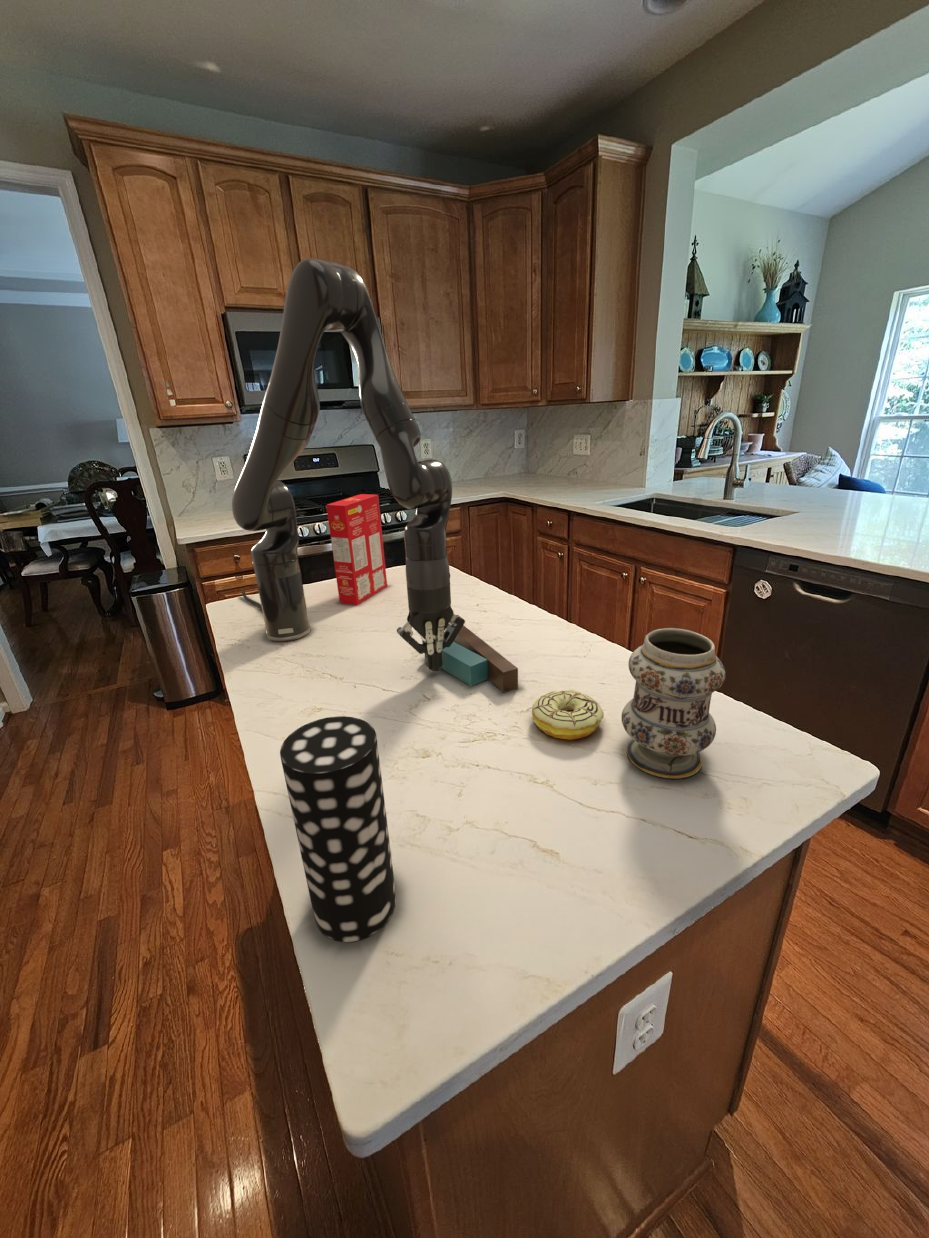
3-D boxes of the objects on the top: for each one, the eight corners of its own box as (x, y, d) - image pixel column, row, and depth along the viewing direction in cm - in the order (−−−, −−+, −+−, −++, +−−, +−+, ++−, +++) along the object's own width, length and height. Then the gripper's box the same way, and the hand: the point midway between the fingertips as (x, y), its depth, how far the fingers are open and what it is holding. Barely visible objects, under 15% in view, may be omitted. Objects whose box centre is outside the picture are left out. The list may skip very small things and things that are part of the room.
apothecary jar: (728, 761, 73) (750, 643, 66) (673, 798, 67) (692, 672, 60) (654, 721, 82) (667, 614, 75) (600, 751, 76) (609, 637, 69)
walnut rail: (446, 641, 112) (445, 624, 111) (459, 638, 113) (458, 621, 112) (503, 692, 92) (503, 672, 90) (518, 688, 93) (518, 668, 92)
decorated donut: (614, 720, 83) (616, 700, 82) (577, 753, 76) (579, 731, 74) (557, 698, 90) (558, 678, 88) (519, 726, 82) (519, 705, 81)
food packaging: (371, 584, 148) (360, 494, 139) (387, 586, 146) (378, 494, 137) (339, 602, 136) (326, 504, 126) (357, 605, 134) (344, 505, 124)
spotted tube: (321, 874, 58) (291, 719, 50) (397, 866, 59) (379, 713, 51) (307, 946, 50) (269, 777, 43) (394, 937, 51) (373, 768, 43)
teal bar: (426, 659, 105) (425, 641, 103) (443, 653, 107) (442, 635, 105) (471, 686, 94) (470, 666, 93) (488, 679, 97) (487, 659, 95)
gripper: (453, 569, 98) (457, 653, 104) (384, 581, 92) (393, 669, 99) (472, 580, 91) (475, 669, 98) (399, 594, 86) (407, 687, 93)
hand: (434, 669), depth 98 cm, fingers closed
